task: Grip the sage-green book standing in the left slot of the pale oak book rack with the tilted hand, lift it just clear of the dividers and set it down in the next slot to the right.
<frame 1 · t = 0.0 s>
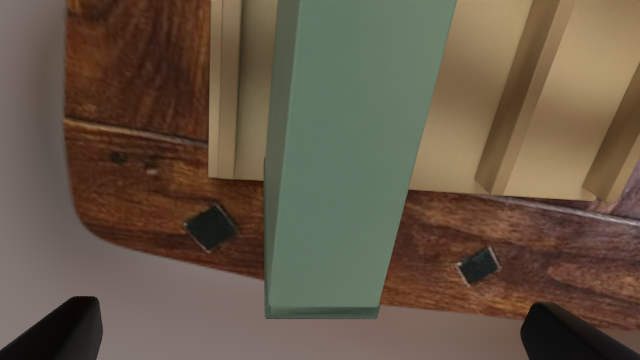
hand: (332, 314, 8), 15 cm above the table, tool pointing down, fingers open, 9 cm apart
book: (307, 76, 20), point 1 cm above the table, touching rack
rack: (439, 86, 22), on the table
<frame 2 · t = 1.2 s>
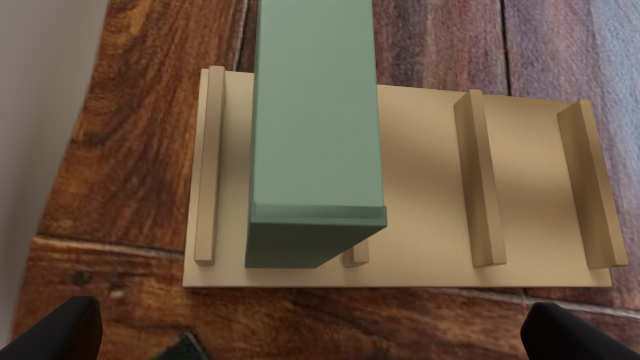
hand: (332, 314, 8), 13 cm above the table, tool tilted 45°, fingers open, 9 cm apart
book: (282, 172, 22), point 1 cm above the table, touching rack
rack: (404, 182, 24), on the table
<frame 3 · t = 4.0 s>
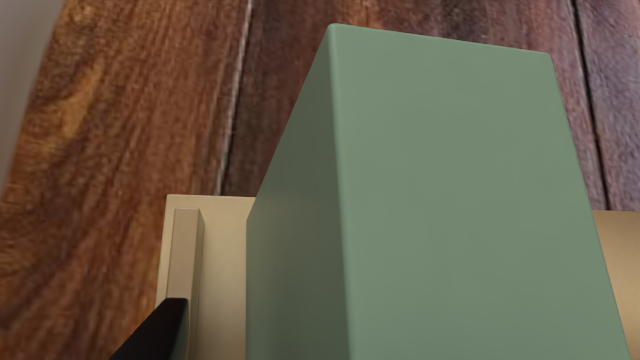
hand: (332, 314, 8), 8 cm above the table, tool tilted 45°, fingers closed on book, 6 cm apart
rack: (473, 357, 16), on the table
when the fingers open (8 cm above the table, at t = 8.1 s): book stays where it is, resting on rack.
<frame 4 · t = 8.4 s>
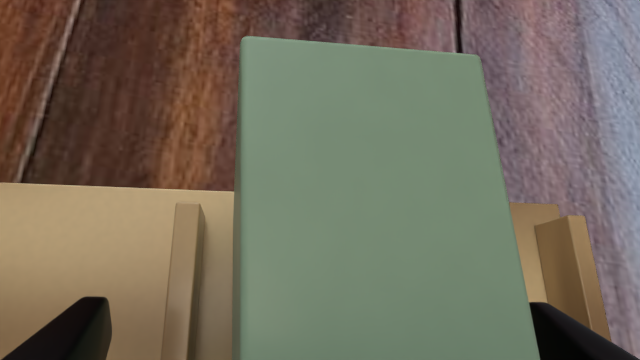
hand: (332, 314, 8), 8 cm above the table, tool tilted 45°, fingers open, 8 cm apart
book: (283, 357, 14), point 1 cm above the table, touching rack
rack: (287, 355, 15), on the table
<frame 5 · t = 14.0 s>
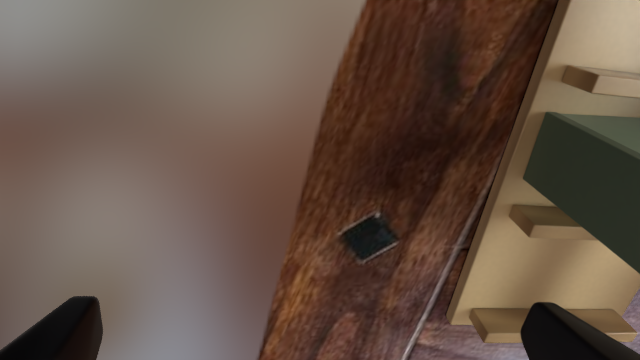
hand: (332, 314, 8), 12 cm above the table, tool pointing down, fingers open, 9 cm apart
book: (623, 149, 21), point 1 cm above the table, touching rack
rack: (610, 148, 22), on the table
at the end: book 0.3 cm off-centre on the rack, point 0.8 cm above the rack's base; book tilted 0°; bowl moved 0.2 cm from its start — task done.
